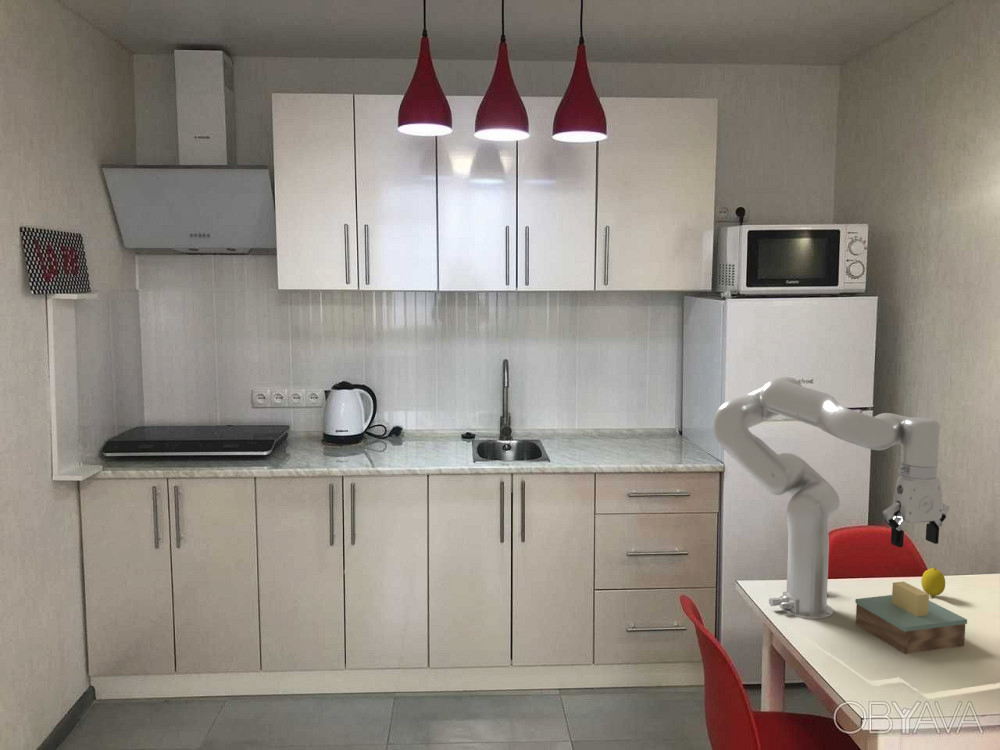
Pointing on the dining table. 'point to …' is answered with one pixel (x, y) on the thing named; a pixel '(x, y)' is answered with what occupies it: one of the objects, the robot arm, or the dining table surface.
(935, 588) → the lemon
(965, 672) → the dining table surface
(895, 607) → the lid
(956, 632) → the box
